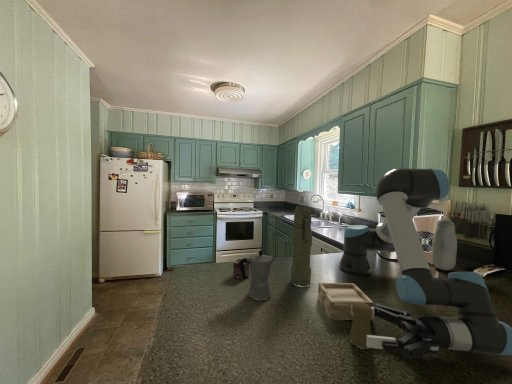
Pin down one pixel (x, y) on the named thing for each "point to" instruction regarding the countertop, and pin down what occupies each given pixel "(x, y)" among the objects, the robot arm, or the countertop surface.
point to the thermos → (301, 246)
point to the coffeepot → (258, 275)
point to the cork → (360, 324)
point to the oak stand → (341, 299)
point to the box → (237, 269)
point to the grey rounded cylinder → (444, 245)
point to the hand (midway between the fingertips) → (358, 324)
